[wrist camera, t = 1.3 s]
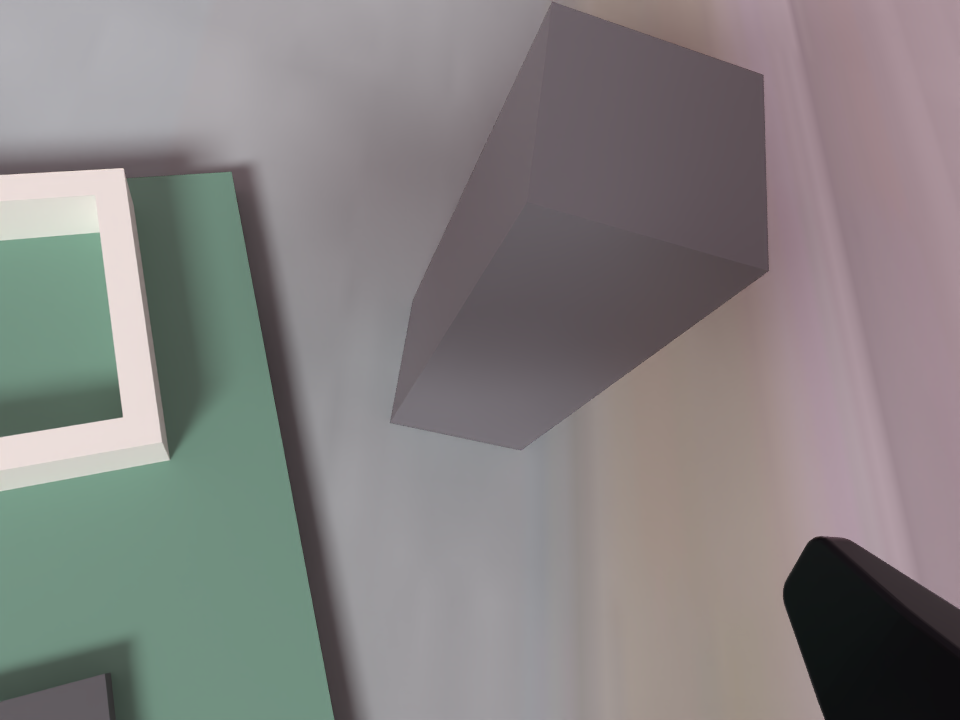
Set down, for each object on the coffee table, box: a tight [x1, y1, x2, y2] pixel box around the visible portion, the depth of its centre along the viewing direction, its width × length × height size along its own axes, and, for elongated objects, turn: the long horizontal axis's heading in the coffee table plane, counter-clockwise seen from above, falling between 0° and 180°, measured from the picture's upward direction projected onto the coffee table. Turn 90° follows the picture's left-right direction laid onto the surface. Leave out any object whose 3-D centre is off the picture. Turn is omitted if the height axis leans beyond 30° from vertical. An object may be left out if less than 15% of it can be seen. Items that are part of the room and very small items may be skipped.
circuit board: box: [0, 168, 334, 720], centre depth 18 cm, size 21×14×3 cm, turn 15°
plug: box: [390, 2, 769, 450], centre depth 19 cm, size 5×4×13 cm
